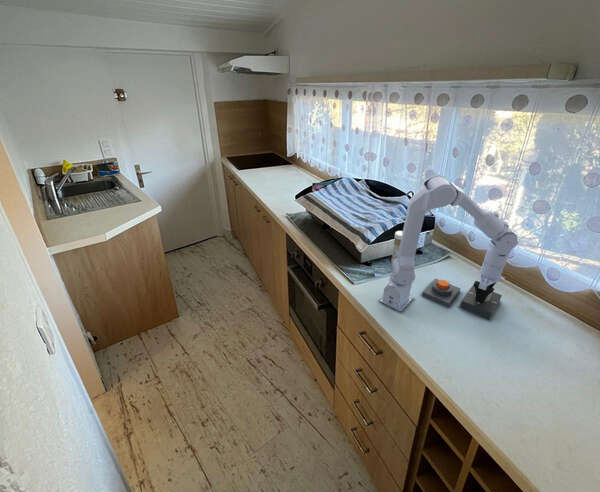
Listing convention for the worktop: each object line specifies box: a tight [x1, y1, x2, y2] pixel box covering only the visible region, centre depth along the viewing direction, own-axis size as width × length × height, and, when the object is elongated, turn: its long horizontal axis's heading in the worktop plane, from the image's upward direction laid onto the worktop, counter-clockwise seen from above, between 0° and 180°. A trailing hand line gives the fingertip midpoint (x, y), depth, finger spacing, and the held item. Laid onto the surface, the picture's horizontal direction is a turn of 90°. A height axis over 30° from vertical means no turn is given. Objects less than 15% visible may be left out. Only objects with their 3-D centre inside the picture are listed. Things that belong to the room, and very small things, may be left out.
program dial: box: [475, 293, 492, 302], centre depth 101 cm, size 4×4×4 cm
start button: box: [437, 279, 450, 290], centre depth 107 cm, size 4×4×2 cm
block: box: [421, 277, 461, 308], centre depth 108 cm, size 11×9×4 cm
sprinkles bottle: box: [390, 230, 403, 261], centre depth 125 cm, size 5×5×14 cm
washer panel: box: [459, 283, 502, 321], centre depth 103 cm, size 12×9×3 cm
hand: (482, 296), depth 102 cm, fingers open, 6 cm apart
